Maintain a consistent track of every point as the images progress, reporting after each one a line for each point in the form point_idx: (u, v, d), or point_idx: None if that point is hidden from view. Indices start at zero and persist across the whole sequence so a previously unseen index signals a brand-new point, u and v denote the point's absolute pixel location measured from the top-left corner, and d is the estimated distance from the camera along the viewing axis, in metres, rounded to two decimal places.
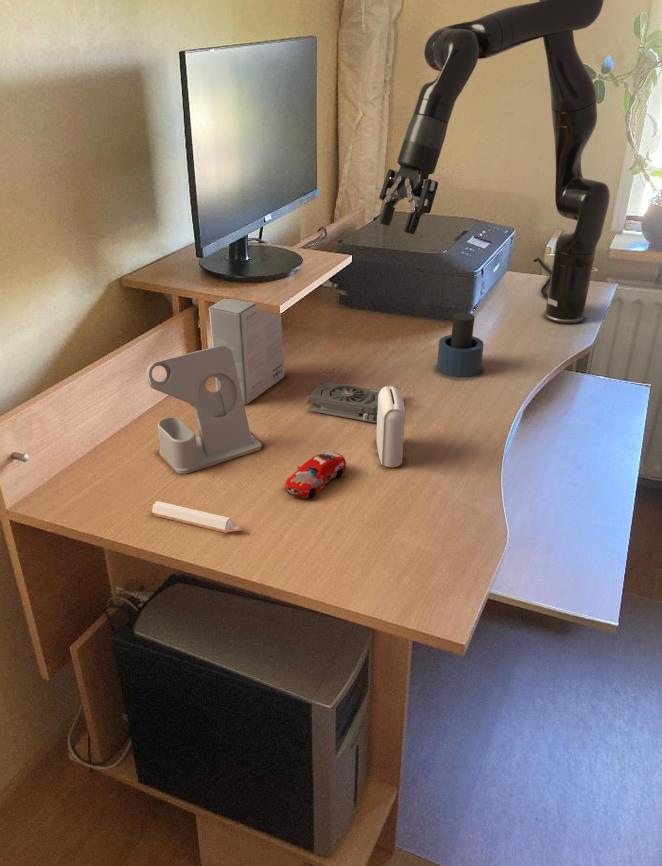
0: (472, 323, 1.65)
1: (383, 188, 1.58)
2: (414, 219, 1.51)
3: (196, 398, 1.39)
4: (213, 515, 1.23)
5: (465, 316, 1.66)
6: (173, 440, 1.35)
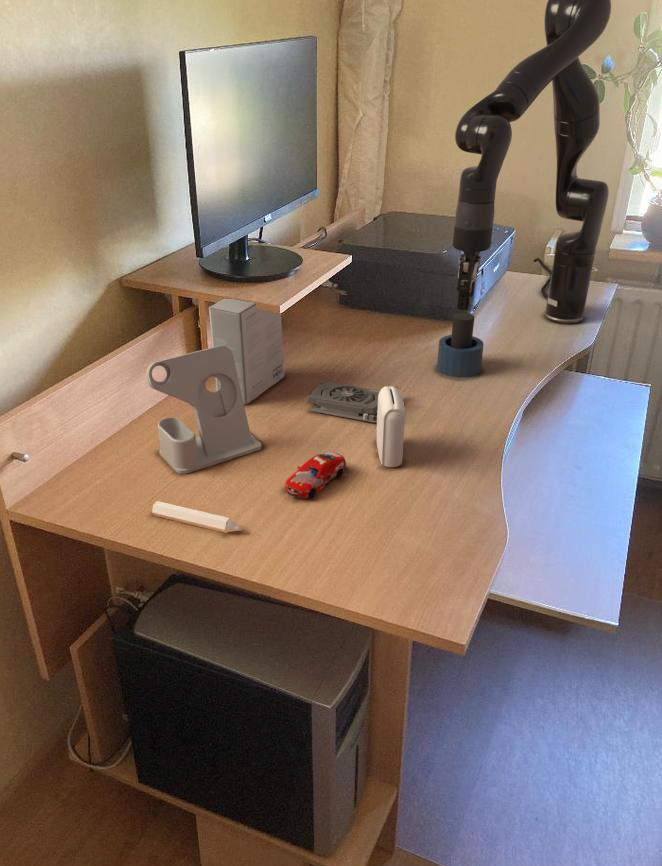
0: (472, 323, 1.65)
1: None
2: (460, 297, 1.58)
3: (196, 398, 1.39)
4: (213, 515, 1.23)
5: (465, 316, 1.66)
6: (173, 440, 1.35)
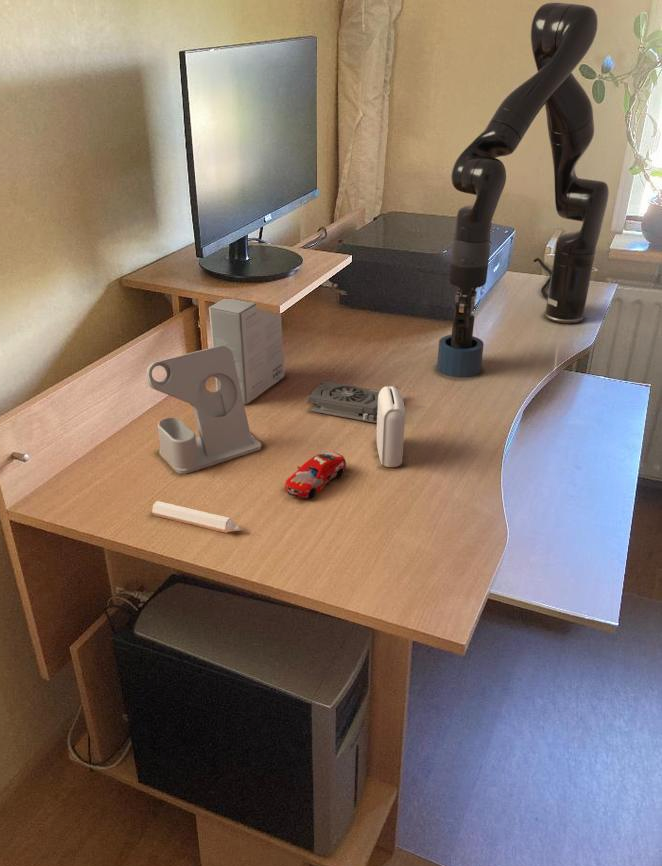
0: (472, 323, 1.65)
1: None
2: (458, 333, 1.64)
3: (196, 398, 1.39)
4: (213, 515, 1.23)
5: None
6: (173, 440, 1.35)
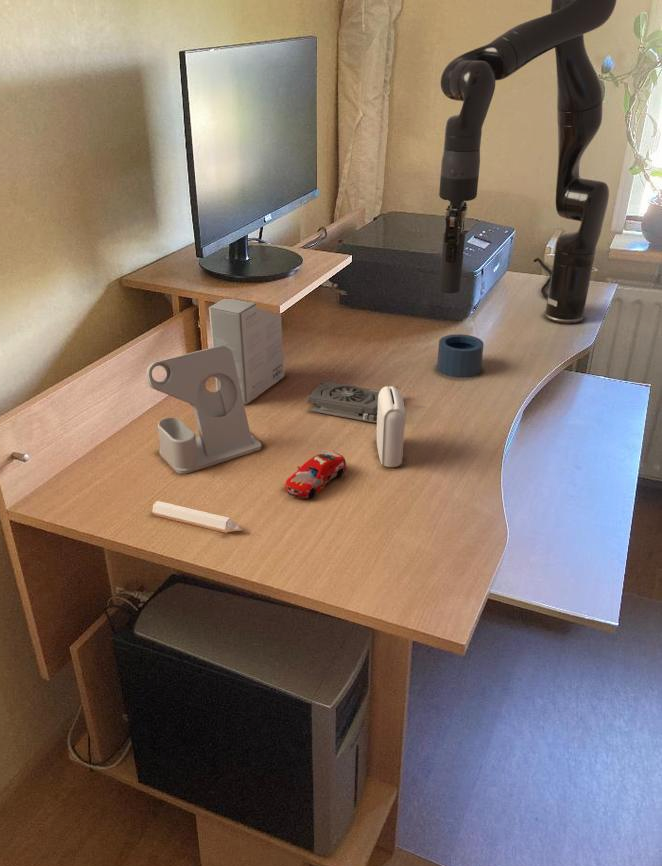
0: (462, 240, 1.61)
1: None
2: (448, 250, 1.61)
3: (196, 398, 1.39)
4: (213, 515, 1.23)
5: None
6: (173, 440, 1.35)
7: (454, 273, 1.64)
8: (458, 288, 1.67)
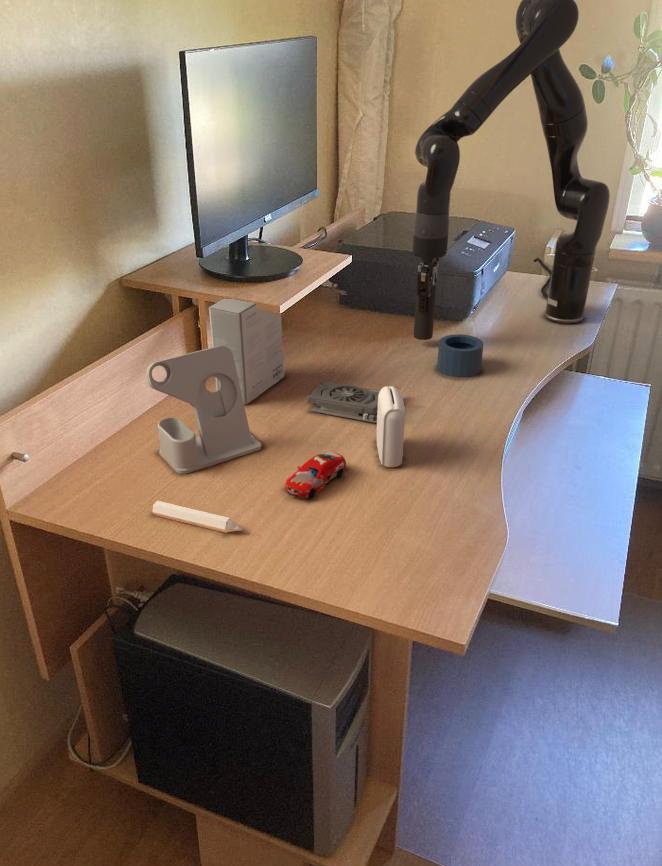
0: (434, 292, 1.75)
1: None
2: (421, 301, 1.75)
3: (196, 398, 1.39)
4: (213, 515, 1.23)
5: None
6: (173, 440, 1.35)
7: (427, 321, 1.78)
8: (430, 335, 1.81)
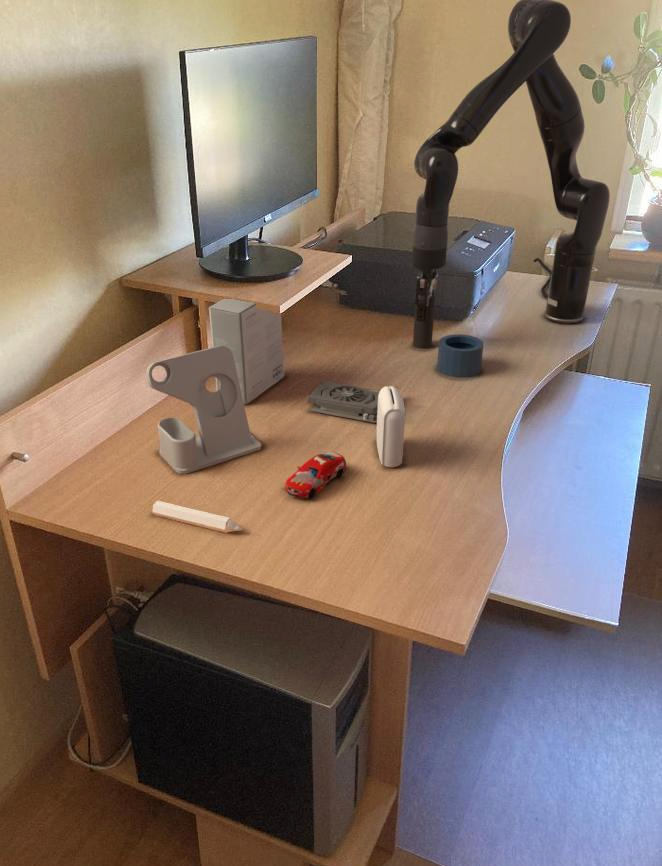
0: (433, 303, 1.76)
1: None
2: (419, 310, 1.74)
3: (196, 398, 1.39)
4: (213, 515, 1.23)
5: None
6: (173, 440, 1.35)
7: (426, 332, 1.80)
8: (429, 345, 1.82)
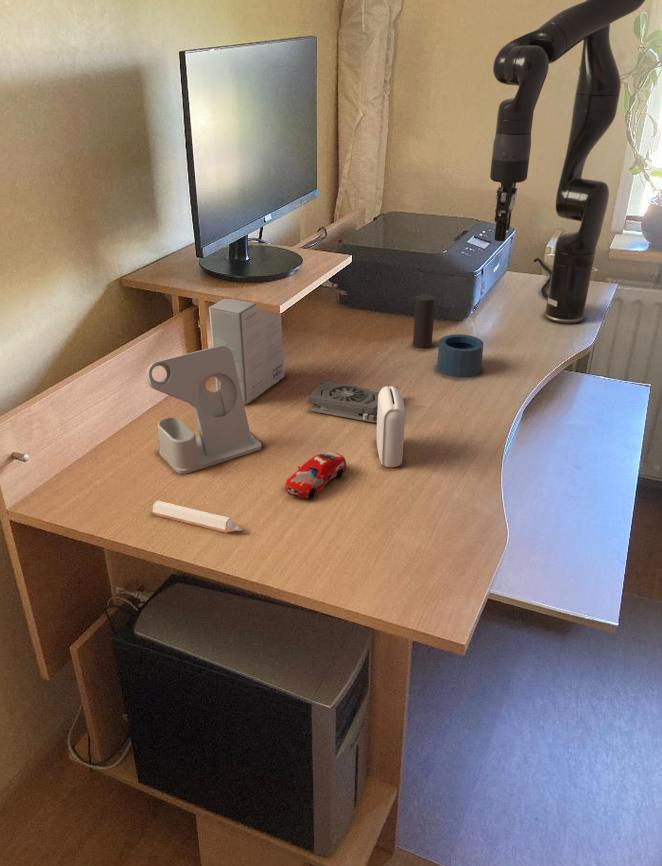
0: (433, 303, 1.76)
1: None
2: (498, 228, 1.64)
3: (196, 398, 1.39)
4: (213, 515, 1.23)
5: (427, 297, 1.77)
6: (173, 440, 1.35)
7: (426, 332, 1.80)
8: (429, 345, 1.82)
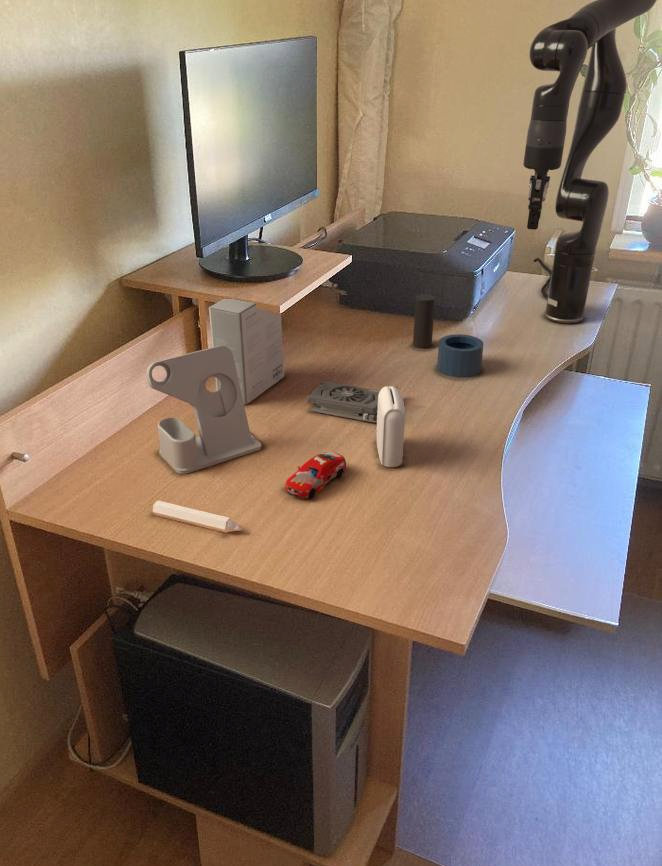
0: (433, 303, 1.76)
1: None
2: (531, 216, 1.62)
3: (196, 398, 1.39)
4: (213, 515, 1.23)
5: (427, 297, 1.77)
6: (173, 440, 1.35)
7: (426, 332, 1.80)
8: (429, 345, 1.82)
